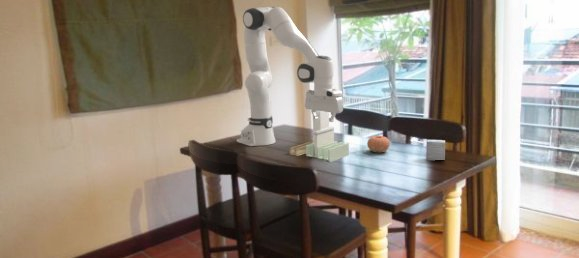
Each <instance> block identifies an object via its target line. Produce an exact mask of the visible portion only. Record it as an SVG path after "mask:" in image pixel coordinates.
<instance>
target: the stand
mask: <svg viewBox="0 0 579 258" xmlns="http://www.w3.org/2000/svg"><path fill="white" fill-rule="evenodd" d="M312 143H313V141H308V142H307V141H306V142H304V143H302V144H299V145H295V146H292V147H289V155H291V156H295V157H296V156H297V157H298V156H301V155H304V154H305V155H306V145H309V144H312Z"/></svg>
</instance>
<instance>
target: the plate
mask: <svg viewBox="0 0 579 258" xmlns="http://www.w3.org/2000/svg"><path fill="white" fill-rule="evenodd" d="M332 142H335V127H334V126H329V127H328V128H325V129H321V130H318V131H314V144H315V157H317V147H319V146H322V145H325V144H328V143H332ZM315 157H314V158H315Z"/></svg>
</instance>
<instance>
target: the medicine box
mask: <svg viewBox="0 0 579 258" xmlns="http://www.w3.org/2000/svg"><path fill="white" fill-rule="evenodd" d="M425 156H426V159H425V160H426V161H435V160H446V159H445V157H446V140H442V139H427V140H426V155H425Z"/></svg>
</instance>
